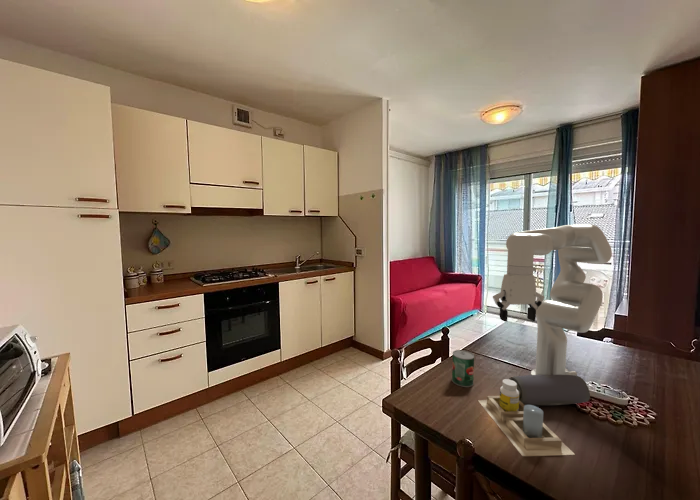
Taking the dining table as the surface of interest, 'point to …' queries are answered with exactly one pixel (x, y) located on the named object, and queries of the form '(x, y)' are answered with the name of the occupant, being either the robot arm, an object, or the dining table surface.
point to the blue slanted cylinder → (532, 421)
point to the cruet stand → (514, 431)
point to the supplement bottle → (509, 396)
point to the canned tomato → (463, 368)
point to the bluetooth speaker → (551, 389)
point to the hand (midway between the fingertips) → (517, 320)
